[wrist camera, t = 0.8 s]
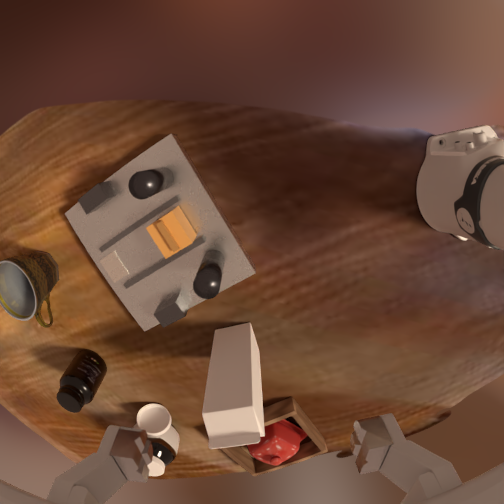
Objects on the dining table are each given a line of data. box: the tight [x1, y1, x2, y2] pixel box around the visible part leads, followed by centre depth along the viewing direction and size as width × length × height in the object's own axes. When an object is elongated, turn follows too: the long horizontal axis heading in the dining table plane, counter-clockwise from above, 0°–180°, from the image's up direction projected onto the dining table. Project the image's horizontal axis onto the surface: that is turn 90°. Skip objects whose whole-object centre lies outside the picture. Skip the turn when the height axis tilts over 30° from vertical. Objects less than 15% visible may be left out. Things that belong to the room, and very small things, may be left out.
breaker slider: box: [146, 206, 197, 259], centre depth 39 cm, size 4×5×5 cm
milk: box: [202, 322, 265, 449], centre depth 40 cm, size 6×6×22 cm
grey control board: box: [65, 134, 256, 332], centre depth 39 cm, size 20×22×12 cm
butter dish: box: [247, 419, 308, 465], centre depth 54 cm, size 12×12×8 cm
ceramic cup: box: [0, 251, 59, 327], centre depth 42 cm, size 13×10×10 cm
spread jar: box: [133, 403, 179, 476], centre depth 51 cm, size 12×11×12 cm
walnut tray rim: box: [220, 397, 328, 476], centre depth 56 cm, size 18×17×4 cm
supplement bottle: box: [57, 350, 107, 413], centre depth 46 cm, size 7×7×12 cm
